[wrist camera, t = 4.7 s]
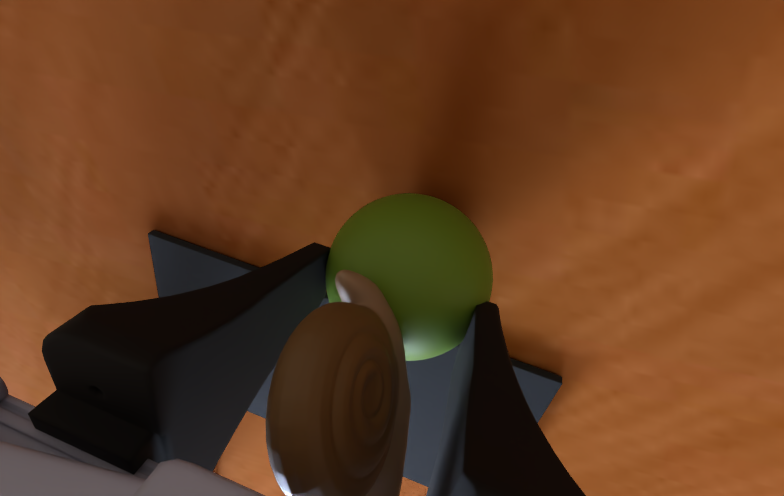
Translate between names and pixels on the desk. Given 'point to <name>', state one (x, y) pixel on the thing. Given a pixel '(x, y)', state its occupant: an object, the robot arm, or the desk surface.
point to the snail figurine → (372, 345)
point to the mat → (426, 377)
